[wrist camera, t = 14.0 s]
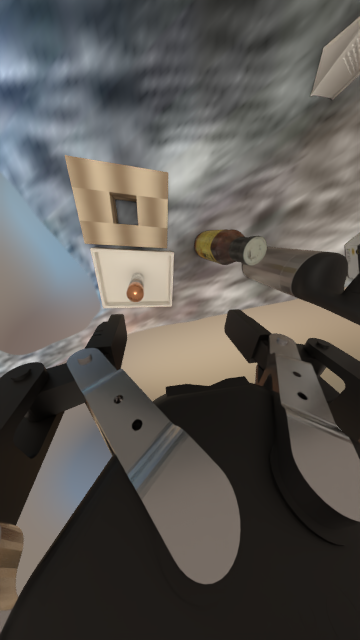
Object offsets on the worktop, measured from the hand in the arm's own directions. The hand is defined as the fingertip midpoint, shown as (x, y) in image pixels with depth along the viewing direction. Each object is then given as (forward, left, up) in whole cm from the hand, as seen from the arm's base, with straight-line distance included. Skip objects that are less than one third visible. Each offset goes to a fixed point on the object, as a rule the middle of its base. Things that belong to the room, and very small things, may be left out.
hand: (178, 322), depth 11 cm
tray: (+5, +4, -32) cm, 32 cm away
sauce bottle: (-13, -5, -32) cm, 35 cm away
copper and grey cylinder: (+5, +4, -31) cm, 31 cm away
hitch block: (+6, -10, -32) cm, 33 cm away
